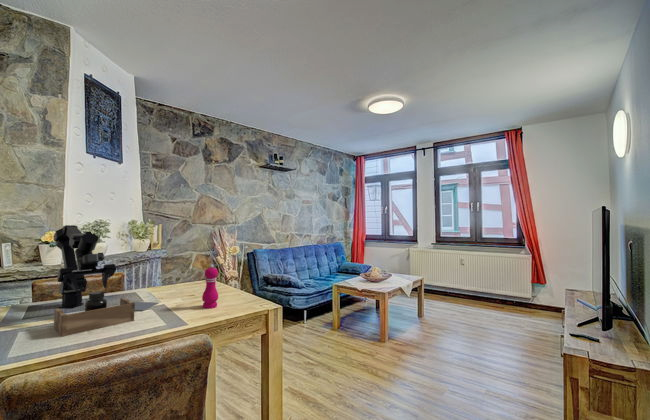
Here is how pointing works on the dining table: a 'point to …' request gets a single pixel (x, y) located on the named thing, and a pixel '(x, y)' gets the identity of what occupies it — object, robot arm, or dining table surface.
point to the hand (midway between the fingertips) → (91, 289)
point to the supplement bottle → (96, 301)
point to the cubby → (93, 318)
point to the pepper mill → (210, 288)
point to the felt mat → (143, 305)
